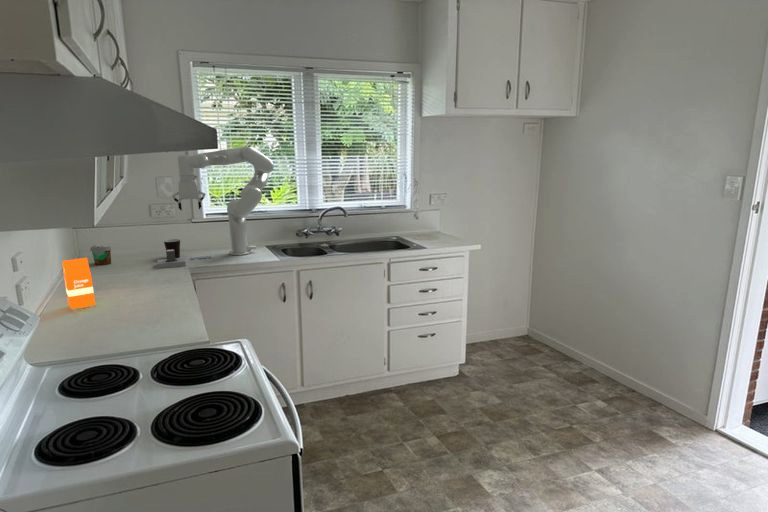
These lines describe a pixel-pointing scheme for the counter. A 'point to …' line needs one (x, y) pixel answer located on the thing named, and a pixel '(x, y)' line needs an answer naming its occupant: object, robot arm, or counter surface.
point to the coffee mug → (173, 246)
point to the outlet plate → (171, 263)
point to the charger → (170, 255)
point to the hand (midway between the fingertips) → (190, 209)
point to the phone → (200, 257)
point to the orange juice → (78, 283)
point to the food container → (101, 255)
